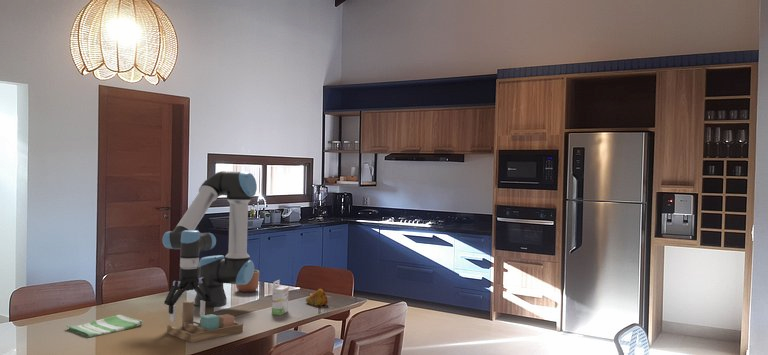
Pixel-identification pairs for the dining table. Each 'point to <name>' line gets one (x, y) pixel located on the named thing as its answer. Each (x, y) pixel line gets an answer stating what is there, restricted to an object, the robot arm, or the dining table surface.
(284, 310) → the ink box
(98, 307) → the dining table surface
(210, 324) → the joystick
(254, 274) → the planter
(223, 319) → the terracotta block
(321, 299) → the rock
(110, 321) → the dish towel
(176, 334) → the oak lanes
